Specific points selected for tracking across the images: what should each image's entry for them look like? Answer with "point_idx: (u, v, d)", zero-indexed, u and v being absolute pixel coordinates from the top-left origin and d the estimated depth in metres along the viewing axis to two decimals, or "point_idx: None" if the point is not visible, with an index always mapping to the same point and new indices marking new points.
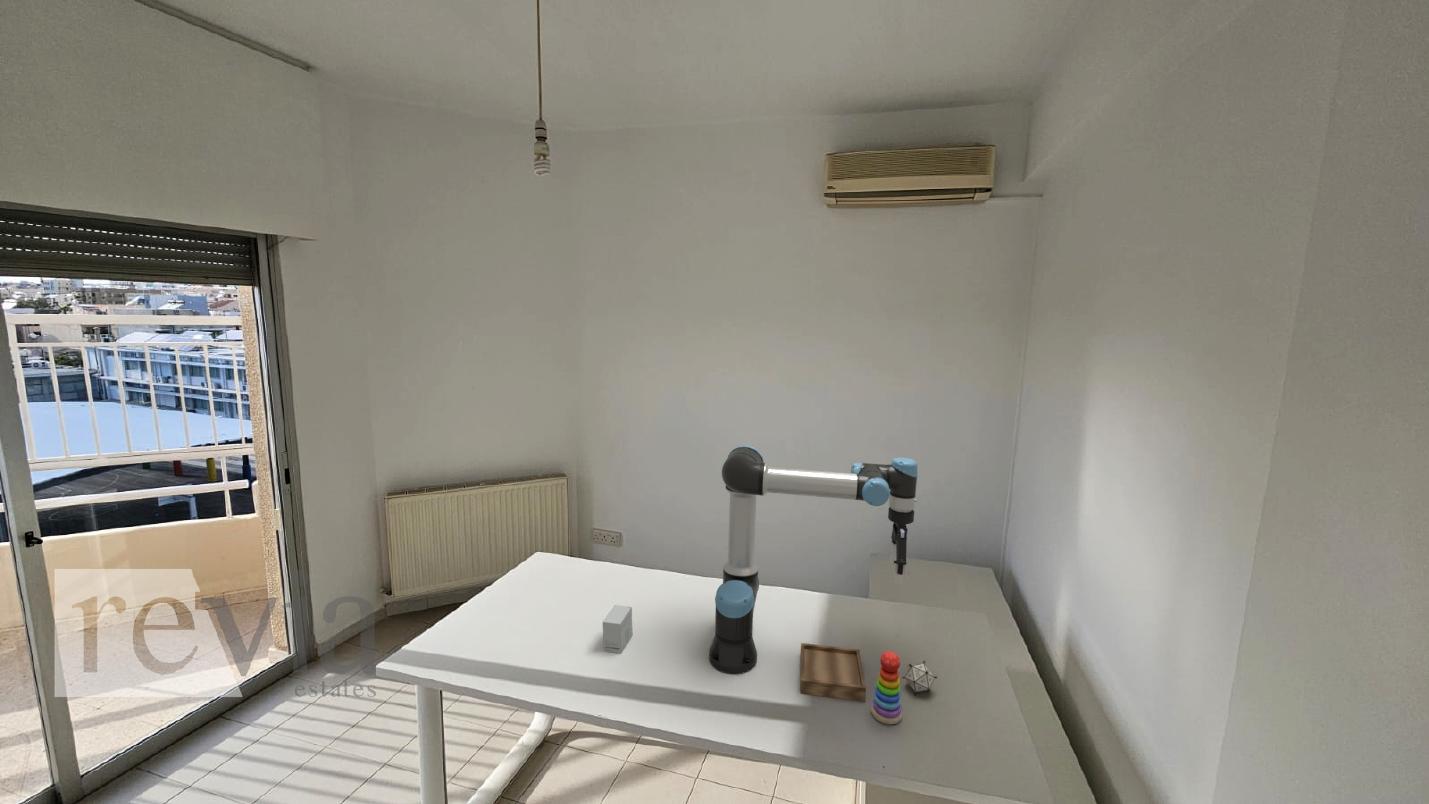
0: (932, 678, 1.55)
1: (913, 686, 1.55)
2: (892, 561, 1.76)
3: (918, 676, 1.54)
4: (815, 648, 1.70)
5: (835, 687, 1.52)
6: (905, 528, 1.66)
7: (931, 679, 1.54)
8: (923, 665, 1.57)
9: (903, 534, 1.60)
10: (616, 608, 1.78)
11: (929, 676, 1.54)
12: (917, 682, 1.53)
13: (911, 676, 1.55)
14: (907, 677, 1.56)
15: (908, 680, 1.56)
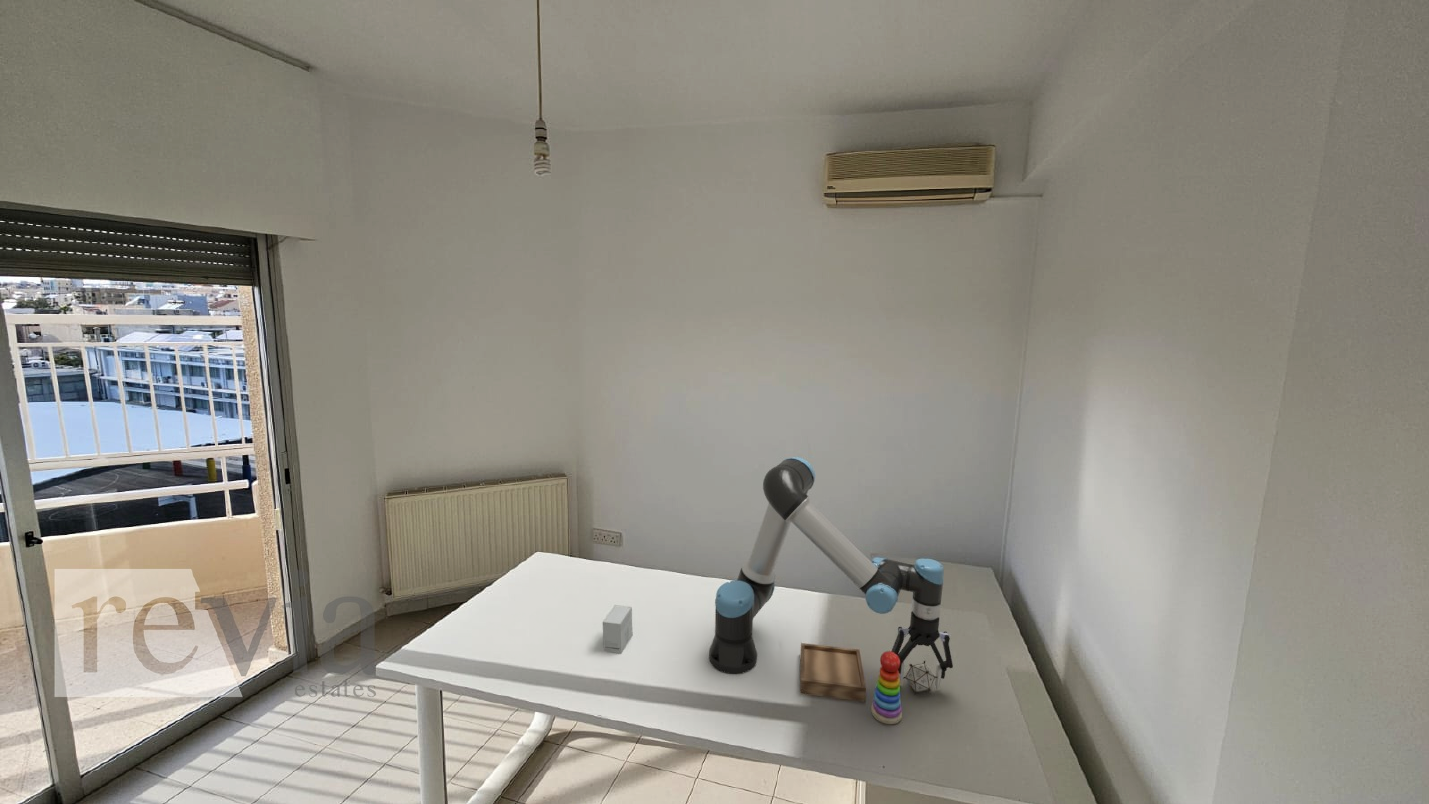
0: (932, 678, 1.55)
1: (913, 686, 1.55)
2: (935, 683, 1.57)
3: (918, 676, 1.54)
4: (815, 648, 1.70)
5: (835, 687, 1.52)
6: (919, 635, 1.53)
7: (931, 679, 1.54)
8: (923, 665, 1.57)
9: (898, 632, 1.55)
10: (616, 608, 1.78)
11: (929, 676, 1.54)
12: (917, 682, 1.53)
13: (911, 676, 1.55)
14: (907, 676, 1.56)
15: (908, 680, 1.56)
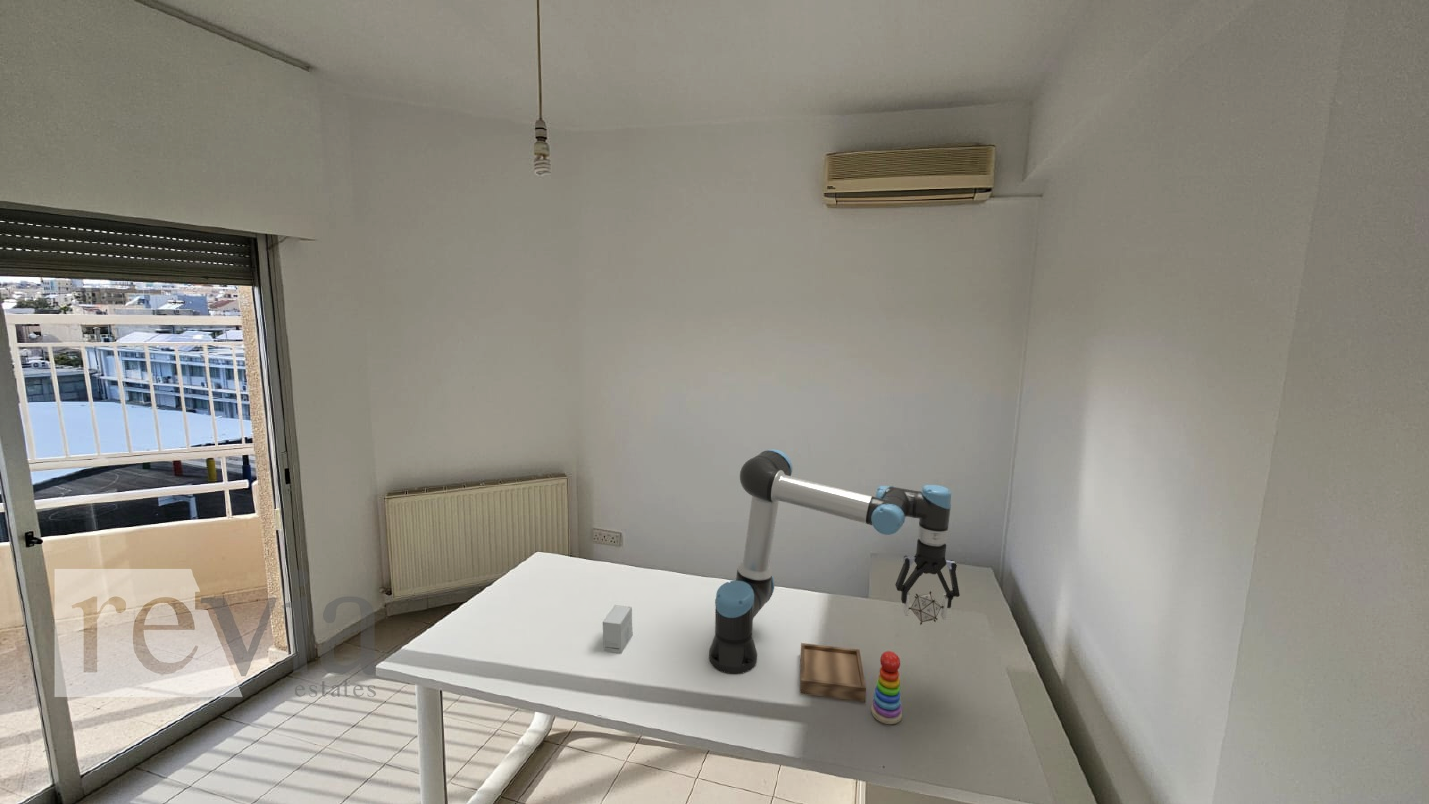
0: (938, 608, 1.51)
1: (919, 616, 1.51)
2: (941, 613, 1.53)
3: (924, 605, 1.50)
4: (815, 648, 1.70)
5: (835, 687, 1.52)
6: (925, 562, 1.50)
7: (937, 608, 1.51)
8: (929, 595, 1.53)
9: (904, 561, 1.52)
10: (616, 608, 1.78)
11: (935, 605, 1.50)
12: (923, 611, 1.50)
13: (917, 606, 1.52)
14: (913, 607, 1.53)
15: (914, 610, 1.53)
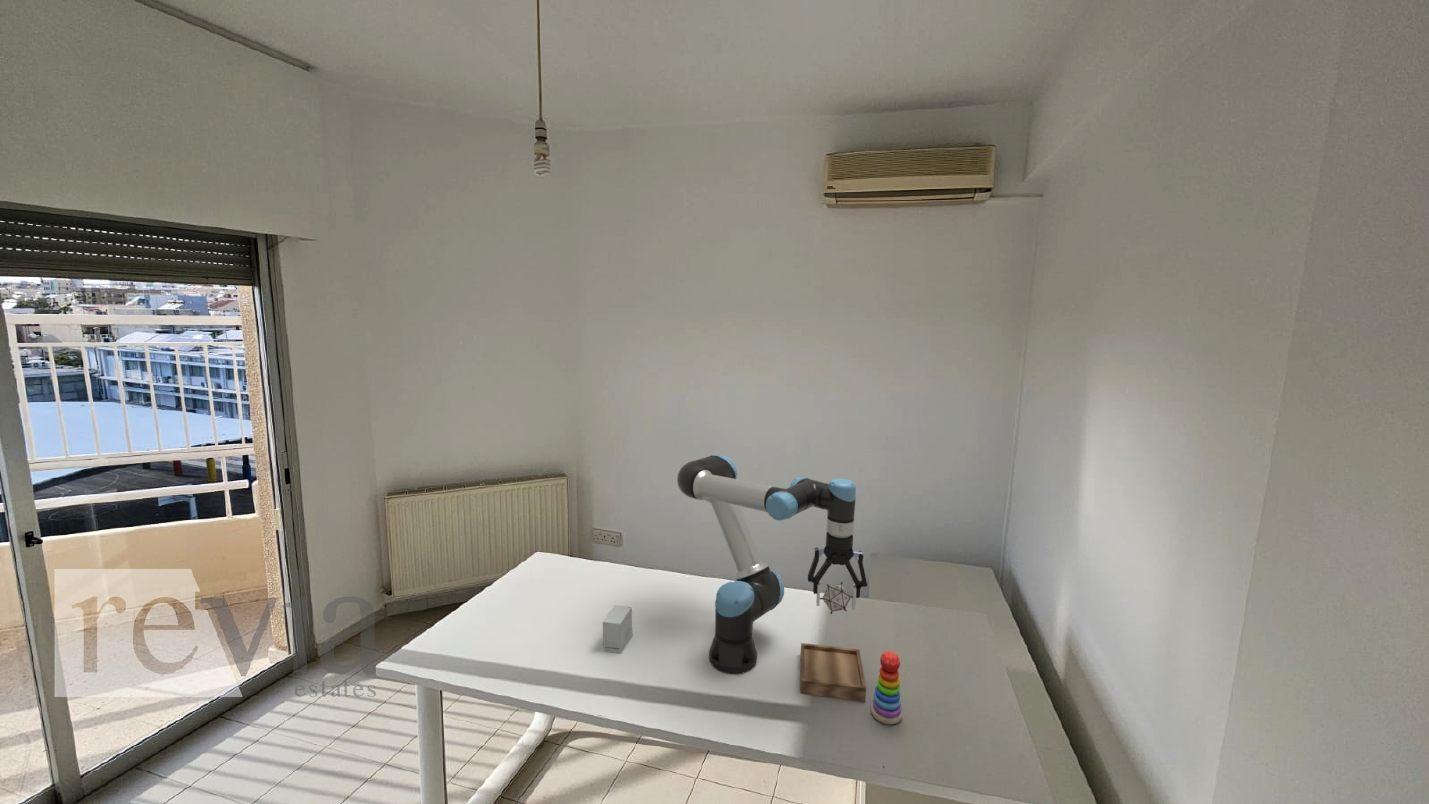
0: (848, 597, 1.56)
1: (829, 605, 1.56)
2: None
3: (833, 595, 1.55)
4: (815, 648, 1.70)
5: (835, 687, 1.52)
6: (833, 554, 1.54)
7: (847, 598, 1.56)
8: (840, 585, 1.58)
9: None
10: (616, 608, 1.78)
11: (844, 595, 1.55)
12: (832, 601, 1.54)
13: (827, 596, 1.56)
14: (824, 597, 1.58)
15: (825, 600, 1.57)
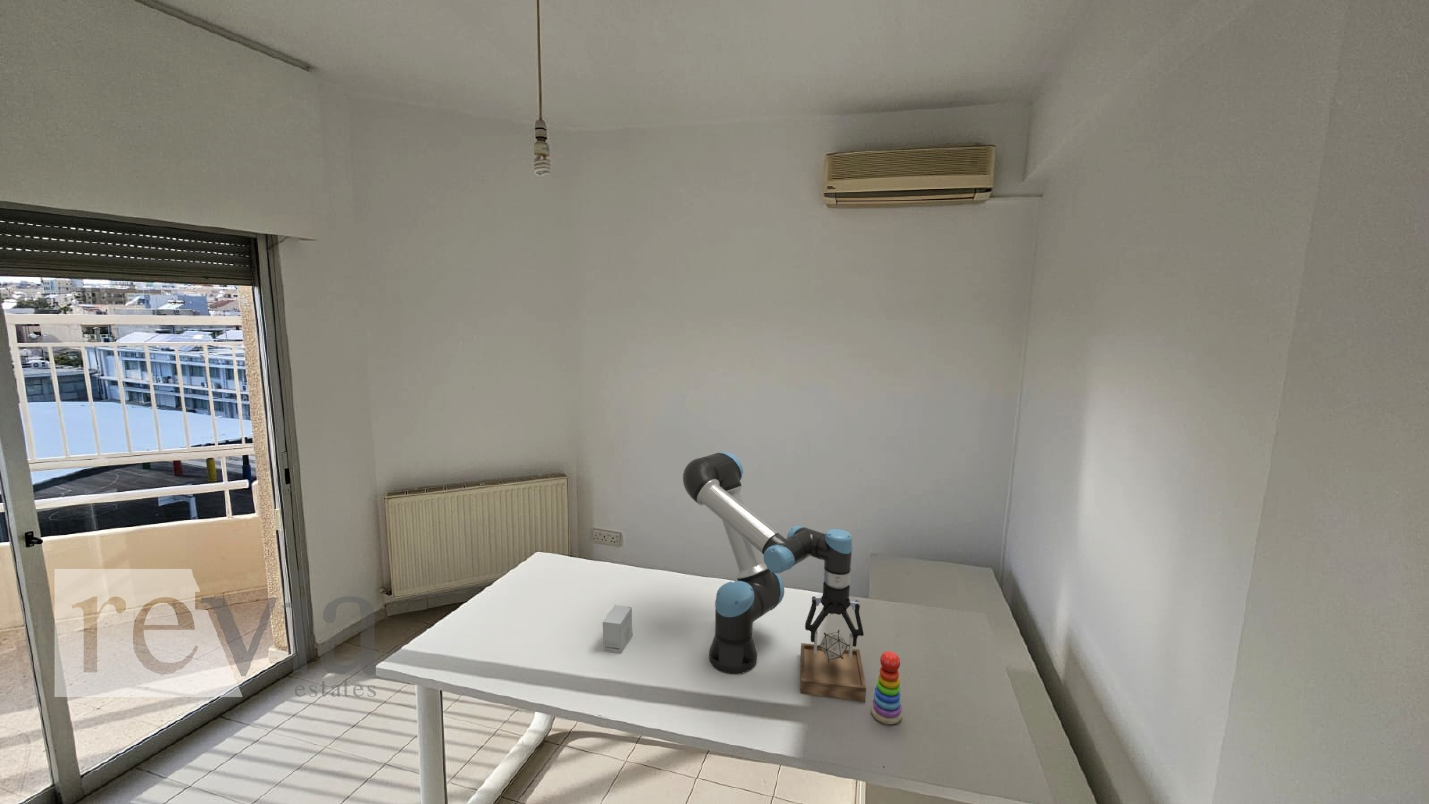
0: (845, 646, 1.58)
1: (826, 654, 1.58)
2: None
3: (830, 644, 1.57)
4: None
5: (835, 687, 1.52)
6: (830, 603, 1.57)
7: (844, 647, 1.58)
8: (837, 634, 1.60)
9: None
10: (616, 608, 1.78)
11: (841, 644, 1.58)
12: (829, 650, 1.57)
13: (824, 645, 1.59)
14: (821, 645, 1.60)
15: (822, 648, 1.60)
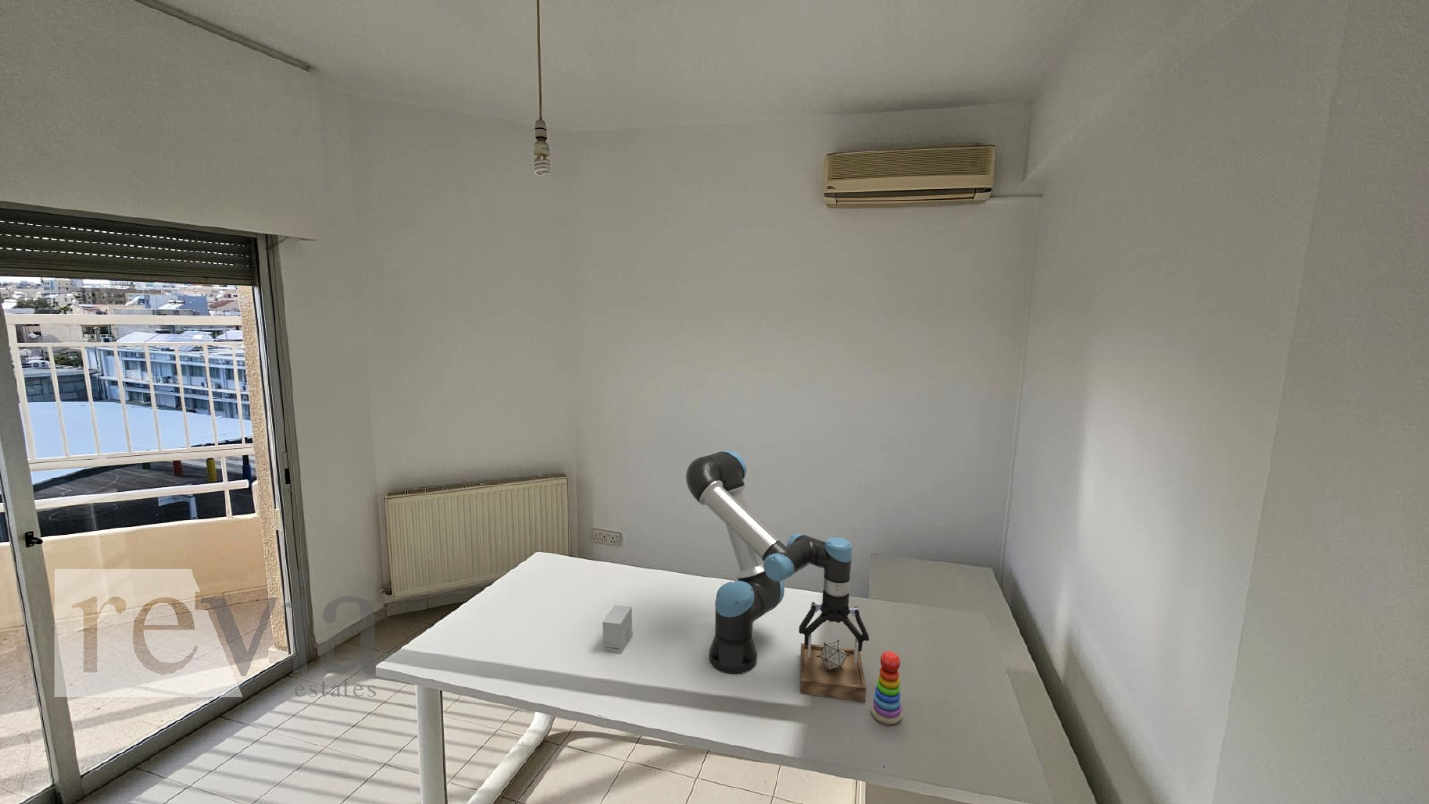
0: (844, 656, 1.59)
1: (826, 664, 1.59)
2: (854, 656, 1.60)
3: (830, 654, 1.58)
4: (815, 648, 1.70)
5: (835, 687, 1.52)
6: (830, 611, 1.57)
7: (843, 657, 1.59)
8: (836, 644, 1.61)
9: (811, 607, 1.59)
10: (616, 608, 1.78)
11: (841, 654, 1.58)
12: (829, 660, 1.57)
13: (824, 655, 1.59)
14: (821, 655, 1.61)
15: (821, 658, 1.60)
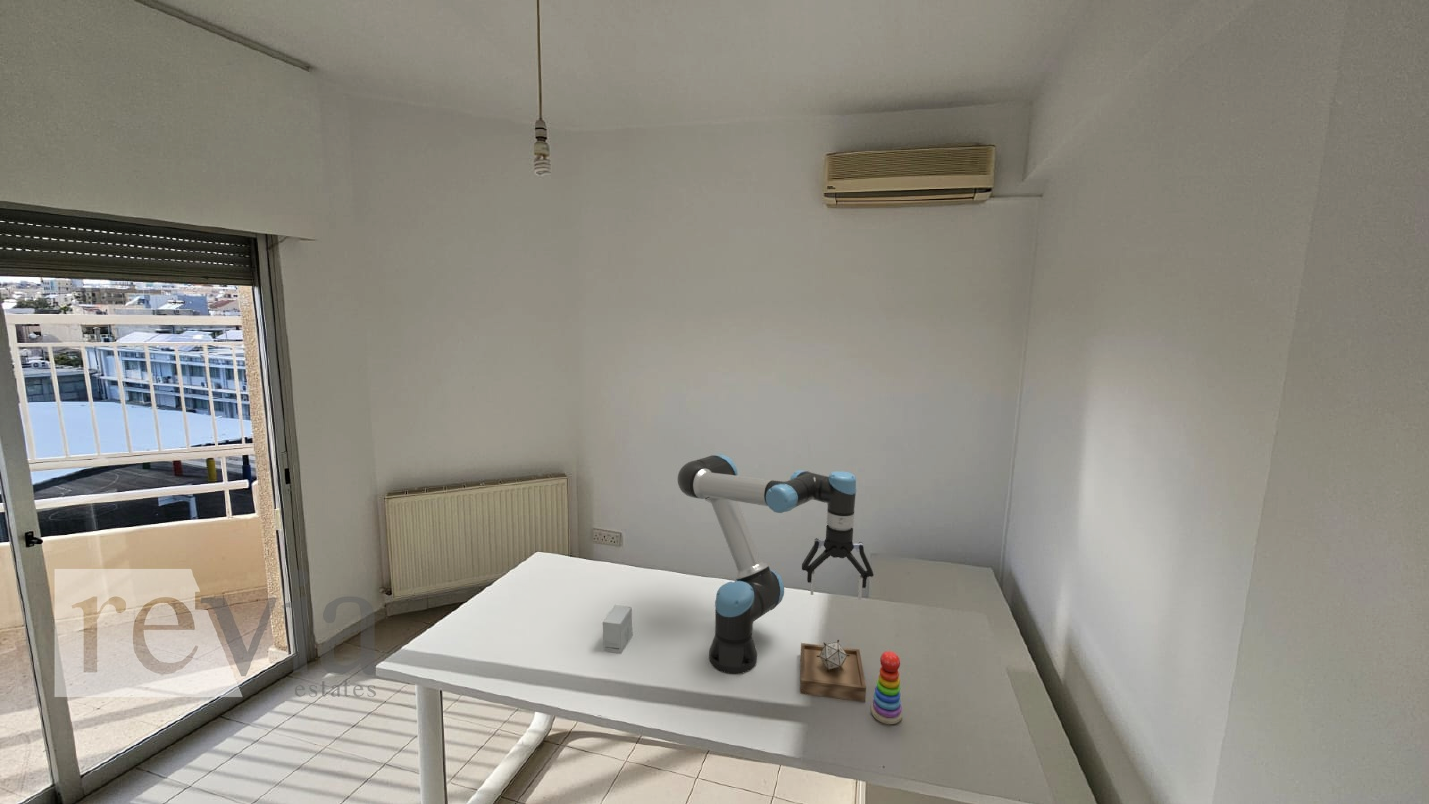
0: (844, 656, 1.59)
1: (826, 664, 1.59)
2: None
3: (830, 654, 1.58)
4: (815, 648, 1.70)
5: (835, 687, 1.52)
6: (834, 546, 1.54)
7: (843, 657, 1.59)
8: (836, 644, 1.61)
9: (814, 543, 1.56)
10: (616, 608, 1.78)
11: (841, 654, 1.58)
12: (829, 660, 1.57)
13: (824, 655, 1.59)
14: (821, 655, 1.61)
15: (821, 658, 1.60)
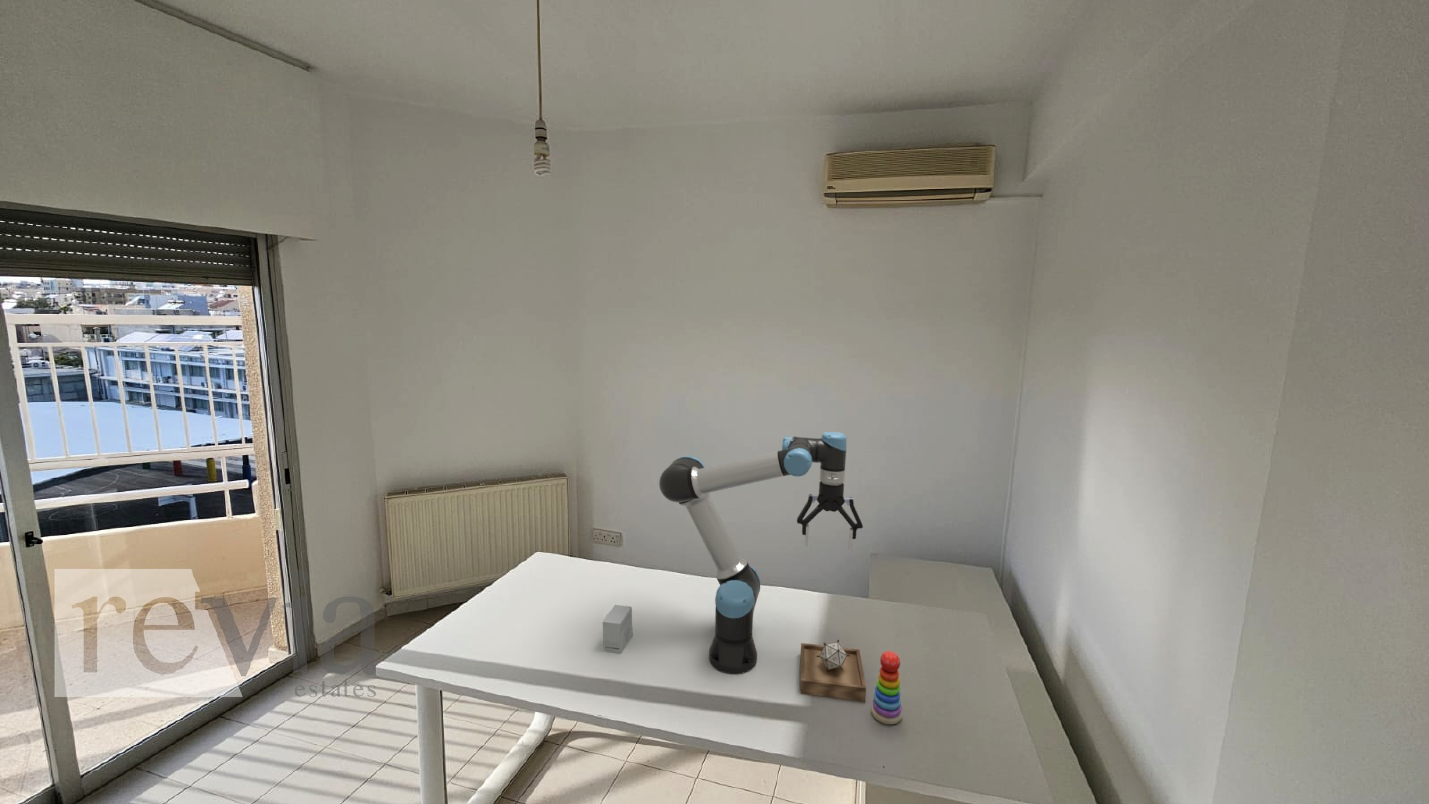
0: (844, 656, 1.59)
1: (826, 664, 1.59)
2: None
3: (830, 654, 1.58)
4: (815, 648, 1.70)
5: (835, 687, 1.52)
6: (826, 501, 1.68)
7: (843, 657, 1.59)
8: (836, 644, 1.61)
9: (808, 498, 1.70)
10: (616, 608, 1.78)
11: (841, 654, 1.58)
12: (829, 660, 1.57)
13: (824, 655, 1.59)
14: (821, 655, 1.61)
15: (821, 658, 1.60)
